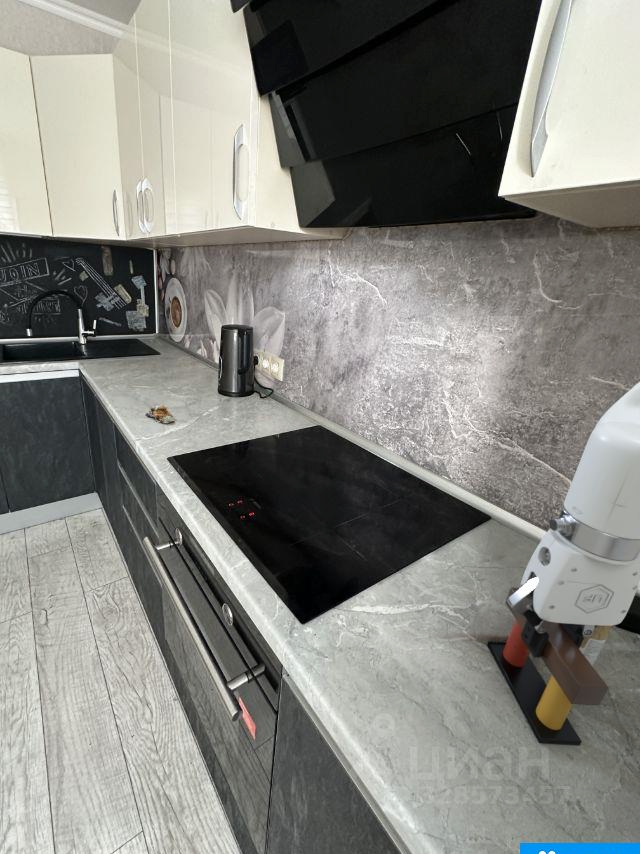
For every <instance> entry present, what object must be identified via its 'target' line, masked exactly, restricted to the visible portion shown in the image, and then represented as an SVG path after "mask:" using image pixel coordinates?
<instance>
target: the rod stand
mask: <svg viewBox="0 0 640 854" xmlns="http://www.w3.org/2000/svg"><path fill="white" fill-rule="evenodd" d="M514 619H515V618H514ZM522 631H523V629H522V628H521V626H520V625H519V623H518V622H517V620H516V619H515V620H514V622H513V624H512V627H511V630H510V632H509V635H508V638H507V640H506V642H504V641H488V642H487V644H486V646H487V648H488V650H489V651H490V653H491V655H492V657H493V659H494V661H495V663H496V665H497V666H498V669H499V671H500V672H501V675H502V676H503V678H504V680H505V682H506V684H507V685H508V687H509V689H510V691H511V693H512V695H513V696H514V699H515V701H516V702H517V703H518V706H519V709H520V710H521V712H522V713H523V715H524V717H525V720H526V721H527V723H528V725H529V727H530V729H531V731H532V732H533V735H534V736H535V738H536V740H537V742H538V743H539V744H547V745H563V746H581V744H582V740H581V738H580V736H579V735H578V733H577V732H576V730H575V728H574V727H573V725H572V723H571V721H570V720H569V719H568V716H569V714H570V712H571V709H572V708H573V706H574V704H571V703H570V701H569V700H568V698H567V697H566V695H565V694H564V692H563V691H562V689H561V688H560V686H559V684H558V683H557V681H556V680H555V678H554V677H553V675H552V674H551V676H550V678H549V680H548V681H547V683H546V682H545V680H544V679H543V676H542V675H541V673H540V672H539V670H538V669H537V667H536V666H535V664H534V662H533V661H532V659H531V658H530V656H529V655H530V653H531V652H530V650H529V649H528V647H527V646H526V645H525V643H524V642H523V640H522V637H521V633H522Z"/></svg>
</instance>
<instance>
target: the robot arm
mask: <svg viewBox="0 0 640 854" xmlns="http://www.w3.org/2000/svg"><path fill="white" fill-rule="evenodd" d="M531 555H532V556H531V557H530V560H529V561H528V563H527V565H526V567H525V570H524V572H523V575H522V578H521V581H520V586H519V588H520V589H518V590H517V591H516V592H515V593H513V594H512V595H511V596H510V597H509V598H508V599H507V598H506V599H507V602H508V603H509V605H510V606H511V608H512V609H513V610H514V611H516V612H517V613H519V614H521V615H523V616H525V618H526V619H527V621H526V623H525V626H524V628H523V631H522V633H521V637H522V640H523V642H524V643H525V645H526V646H527V647H528V649H529V650H530V652H529V653H531V655H532V657H533V658H539V659H540V658H541V657H540V656H541V654H542V652H543V650H544V648H545V645H546V643H547V641H548V639H549V634H548V633H547V629H548V628H549V626H550V625H551V623H552V622H555V623H559V624H560V625H561V626H562V627H563V629H564V630H565V631H566V633H567V634H568V635H569V637H570V638H571V639H572V640H573V642H574V643H575V644H576V646H577V647H578V648H580V646H581V644H582V642H583V640H584V637H583V636H590V635H592V633H593V631H594V628H595V627H597V626H599V625H600V626H612V625H613V626H617V625H619V624H621V623H622V622H623V620H625V617H626V616H627V614H628V612H629V610H630V608H631V605H632V603H633V600H634V598H635V596H636V593H637V591H638V587H639V584H640V381H638V382H637V383H636V384H634V385H633V387H631V388H630V389H629V390H628V391H627V392H626V393H625V394H623V396H621V397H620V398H619V399H618V400H617V401H616V402H614V403H613V404H612V405H611V406H610V407H609V408H608V409H607V411H606V412H605V413H604V414H603V415H602V416H601V417H600V419H599V420H598V421H597V423H596V425H595V426H594V428H593V430H592V431H591V433H590V435H589V438H588V440H587V442H586V444H585V447H584V450H583V452H582V455H581V457H580V460H579V463H578V465H577V467H576V471H575V474H574V475H573V478H572V481H571V484H570V485H569V488H568V490H567V493H566V496H565V498H564V501H563V504H562V506H561V508H560V511H559V514H558V516H557V518H551V519H550V520H549V529H548V530H547V531H546V533H545V534H544V536H543V537H542V539H541V540H540V541H539V543H538V545H537V547H536V549H535V550H534V552H533V554H531ZM537 614H538V615H537ZM613 626H612V627H613Z"/></svg>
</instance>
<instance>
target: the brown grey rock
mask: <svg viewBox="0 0 640 854" xmlns="http://www.w3.org/2000/svg"><path fill="white" fill-rule="evenodd" d="M168 410H169V407H168V406H165V405H161V406H159V405H156V406H154V407H152V406H149V412H145V416H146V417H147V418H149V416H151V417H154V420H155V421H156V422H157V423H161V424H169V423H171V422H176V420H175V419H174V418H173V415H172V413H171V412H170V411H168Z"/></svg>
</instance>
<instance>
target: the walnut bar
mask: <svg viewBox="0 0 640 854" xmlns="http://www.w3.org/2000/svg"><path fill="white" fill-rule="evenodd" d="M518 589H520V587H510V589H509V591H508V594H507V597H506V599H505V602H504V604H505V606H507V608H508V610H509V612H510V613H511V614H512V616H513V618H514V619H516V620H517V622H518V623H519V625H520V626H521V628H522V629H523V628H524V626H525V623H526V621H527V619H526V618H525V616H523V615H521V614H519V613H517V612H516V611H514V610H513V609H512V608H511V606H510V605H509V603H508V602H507V599H508V598H509V597H510V596H511V595H512V594H513V593H515V592H516V591H517V590H518ZM537 615H538V614H537ZM547 633H548V634H549V639H548V641H547V643H546V645H545V648H544V650H543V652H542V654H541V656H540V657H539V658H541V660H542V662H543V663H544V665H545V666H546V668H547V669H548V671H549V672H550V674H551V676H552V675H553V677H554V678H555V680H556V681H557V683H558V684H559V686H560V688H561V689H562V691H563V692H564V694H565V695H566V697H567V698H568V700H569V701H570V703H571V704H573V705H578V706H579V705H580V706H595V707H596V706H597V707H598V706H600V705H601V703H602V702H603V700H604V698H605V696H606V694H607V693H608V691H609V689H610V687H609V686H608V685H607V683H606V682H605V681H604V680H603V678H602V677H601V676H600V674H599V673H598V672H597V670H596V669H595V668H594V665H591V664H590V663H589V661H588V660H587V659H586V657H585V656H584V655H583V653H582V652H581V651H580V650H579V648H578V647H577V646H576V644H575V643H574V642H573V640H572V639H571V638H570V637H569V635H568V634H567V633H566V631H565V630H564V629H563V627H562V626H561V625H560V624H559V623H555V622H552V623H551V625H550V626H549V628H548V629H547Z"/></svg>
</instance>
